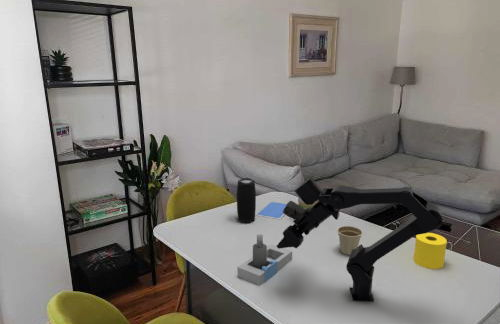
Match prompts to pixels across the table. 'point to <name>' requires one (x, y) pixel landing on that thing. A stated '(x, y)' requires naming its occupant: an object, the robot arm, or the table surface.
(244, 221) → the portable speaker
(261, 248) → the plug
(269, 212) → the blue flat slab
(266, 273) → the cinder block
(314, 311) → the table surface
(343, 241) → the flower pot
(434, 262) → the yellow toilet paper roll
